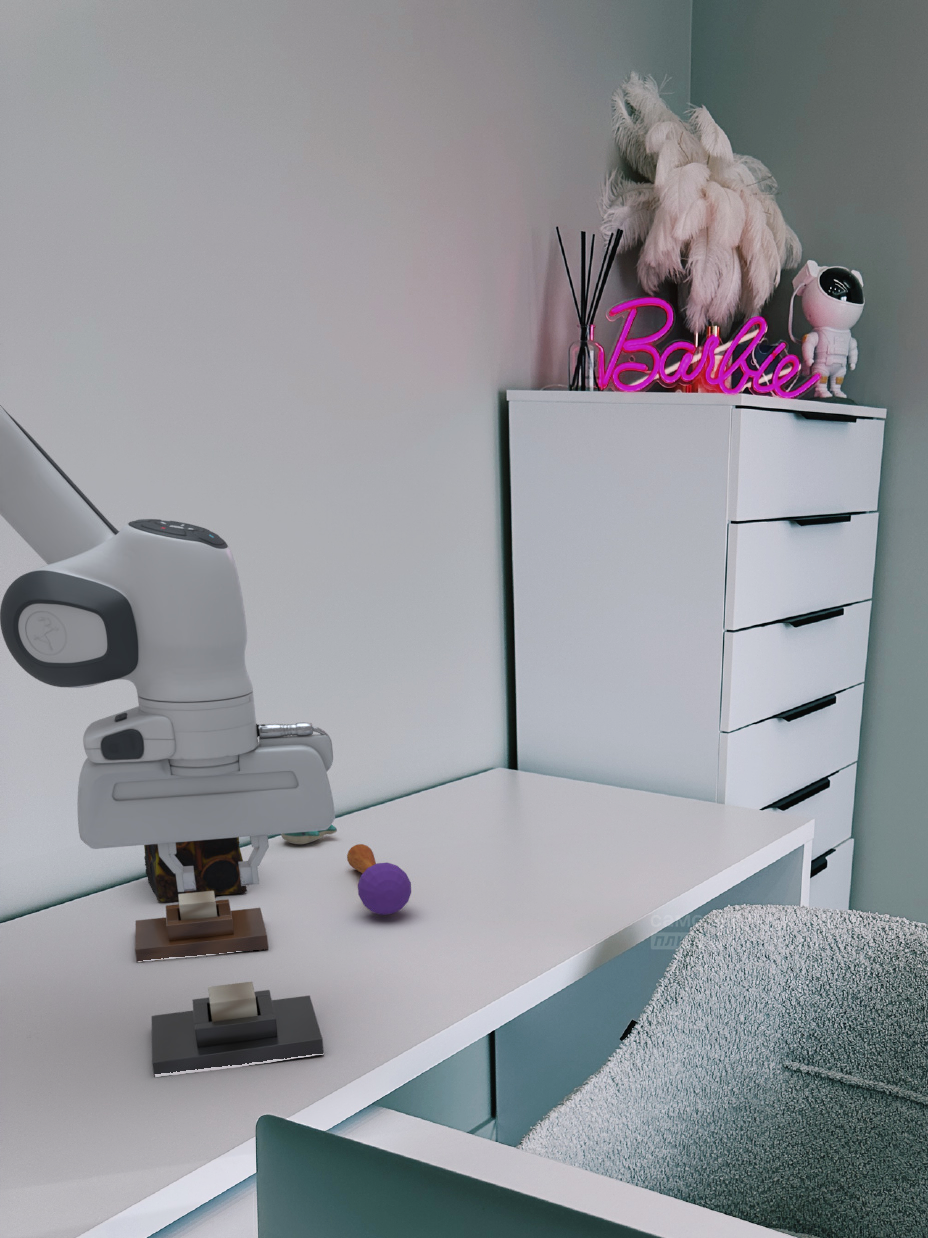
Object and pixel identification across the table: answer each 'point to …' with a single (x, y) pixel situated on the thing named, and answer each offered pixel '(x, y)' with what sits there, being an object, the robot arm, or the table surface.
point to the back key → (197, 905)
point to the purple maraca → (379, 882)
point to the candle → (197, 868)
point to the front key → (232, 1001)
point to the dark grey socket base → (235, 1035)
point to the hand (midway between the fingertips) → (218, 886)
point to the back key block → (200, 933)
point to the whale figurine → (307, 835)
